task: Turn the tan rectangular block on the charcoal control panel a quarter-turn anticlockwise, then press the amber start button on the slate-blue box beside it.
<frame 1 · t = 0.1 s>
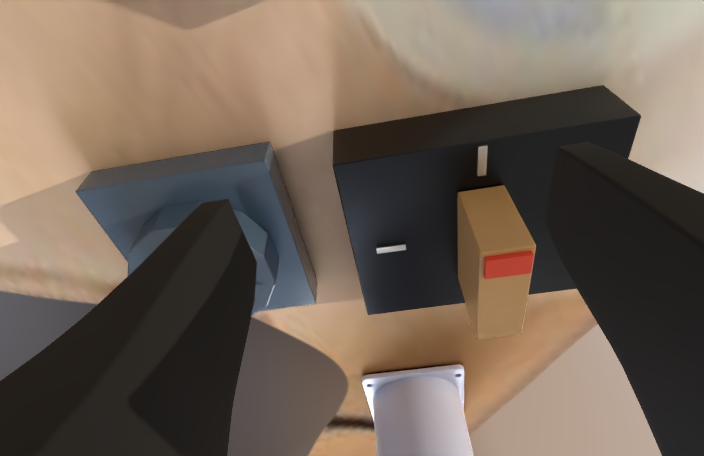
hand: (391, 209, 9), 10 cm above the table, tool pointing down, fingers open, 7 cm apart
button box: (218, 233, 23), on the table
control panel: (463, 196, 22), on the table
tan rectangular block: (490, 266, 18), point 5 cm above the table, hinge at 0.0°
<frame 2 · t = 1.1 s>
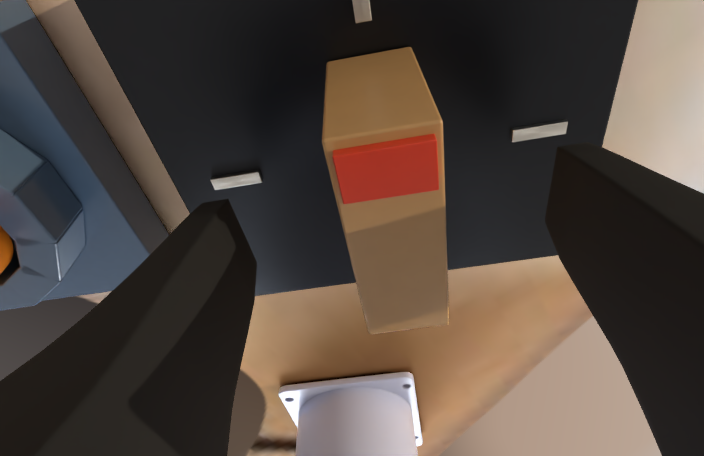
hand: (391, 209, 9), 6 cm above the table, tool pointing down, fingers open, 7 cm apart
button box: (2, 172, 15), on the table
control panel: (375, 107, 14), on the table
tan rectangular block: (389, 199, 10), point 5 cm above the table, hinge at 0.0°
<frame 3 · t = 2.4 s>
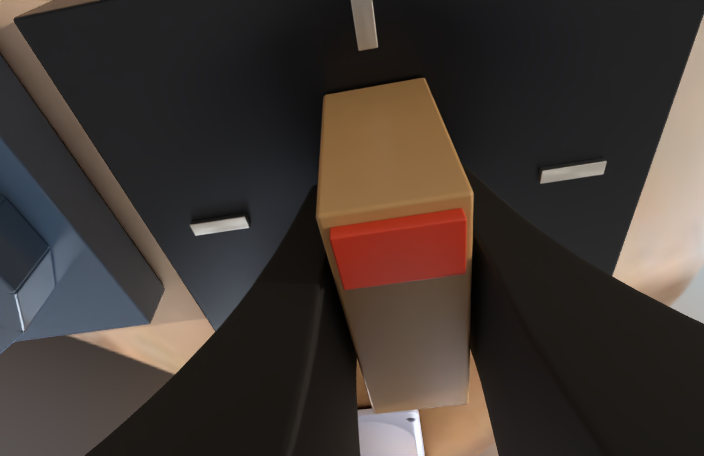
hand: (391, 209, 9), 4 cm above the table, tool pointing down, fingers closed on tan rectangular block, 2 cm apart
control panel: (379, 135, 12), on the table
tan rectangular block: (398, 258, 8), point 5 cm above the table, hinge at 0.0°, touching gripper
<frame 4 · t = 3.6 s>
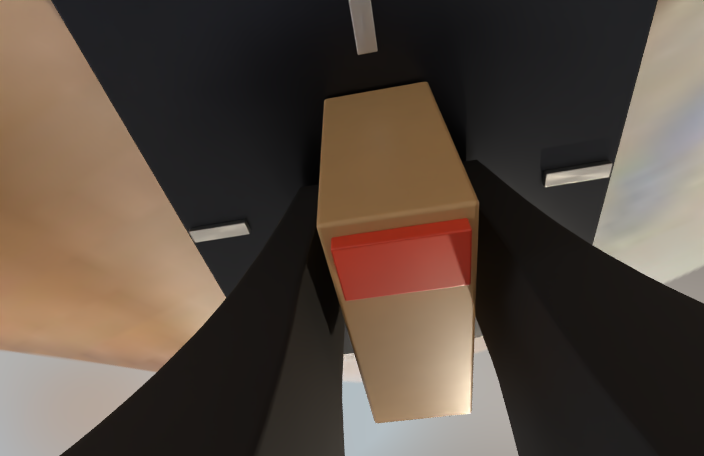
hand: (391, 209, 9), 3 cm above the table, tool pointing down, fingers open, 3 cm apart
control panel: (380, 138, 12), on the table
tan rectangular block: (400, 265, 8), point 5 cm above the table, hinge at 89.3°
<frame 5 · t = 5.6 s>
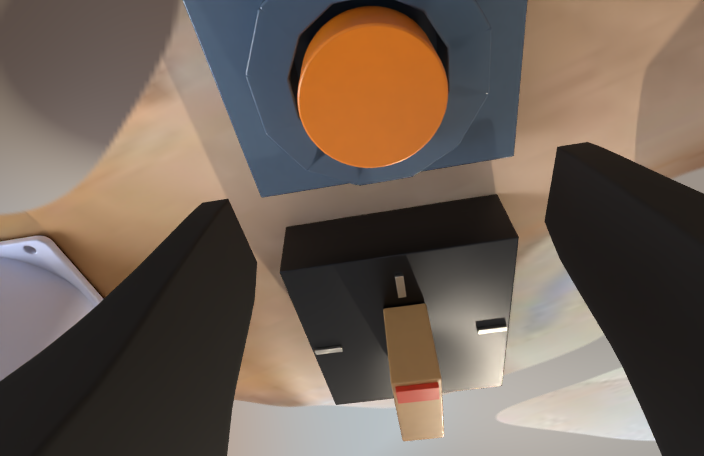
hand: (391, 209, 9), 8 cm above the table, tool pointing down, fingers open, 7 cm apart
button box: (363, 46, 15), on the table
control panel: (401, 293, 23), on the table
tan rectangular block: (414, 376, 20), point 5 cm above the table, hinge at 89.3°
start button: (370, 91, 12), point 4 cm above the table, slide at 0.1 cm
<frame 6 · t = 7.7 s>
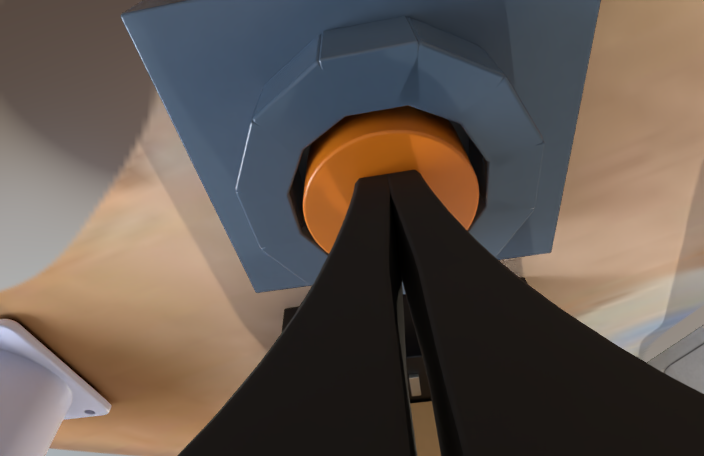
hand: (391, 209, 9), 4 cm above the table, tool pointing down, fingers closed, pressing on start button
button box: (378, 130, 12), on the table
control panel: (412, 369, 21), on the table
start button: (387, 188, 10), point 3 cm above the table, slide at -0.9 cm, touching gripper
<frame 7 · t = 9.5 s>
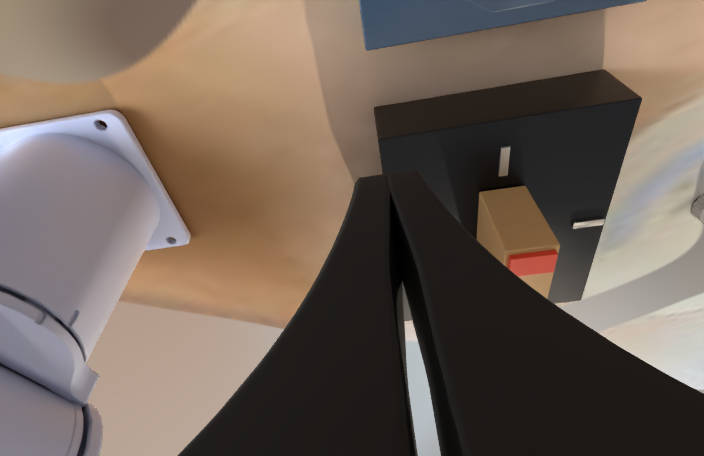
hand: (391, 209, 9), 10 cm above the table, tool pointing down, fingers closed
control panel: (481, 196, 22), on the table
tan rectangular block: (510, 265, 18), point 5 cm above the table, hinge at 89.3°
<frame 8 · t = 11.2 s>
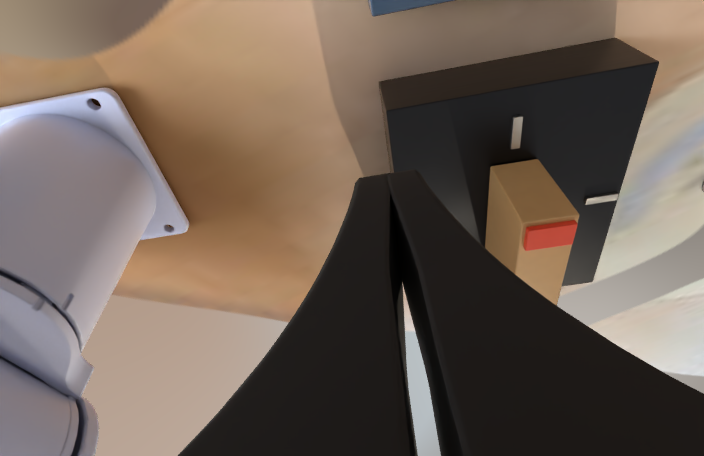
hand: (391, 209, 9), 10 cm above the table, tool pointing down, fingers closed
control panel: (488, 176, 22), on the table
tan rectangular block: (524, 242, 18), point 5 cm above the table, hinge at 89.3°
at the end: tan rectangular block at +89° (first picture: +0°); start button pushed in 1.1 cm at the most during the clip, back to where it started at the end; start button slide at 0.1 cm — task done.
